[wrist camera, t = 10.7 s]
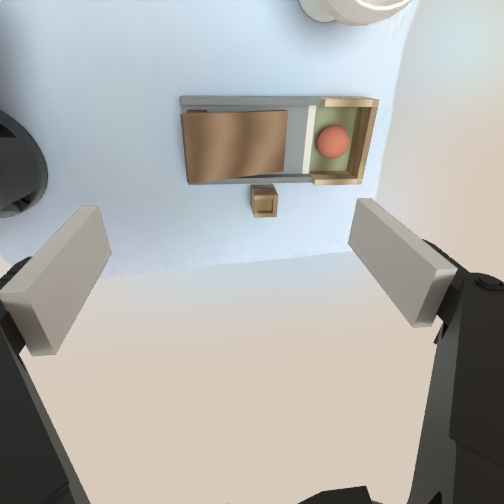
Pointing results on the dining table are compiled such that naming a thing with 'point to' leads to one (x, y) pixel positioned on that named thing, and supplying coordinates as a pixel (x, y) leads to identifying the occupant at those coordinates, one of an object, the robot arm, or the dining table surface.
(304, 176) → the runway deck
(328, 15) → the cup
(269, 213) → the hollow wooden block
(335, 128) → the ball
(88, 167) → the dining table surface
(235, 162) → the ramp
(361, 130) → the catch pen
